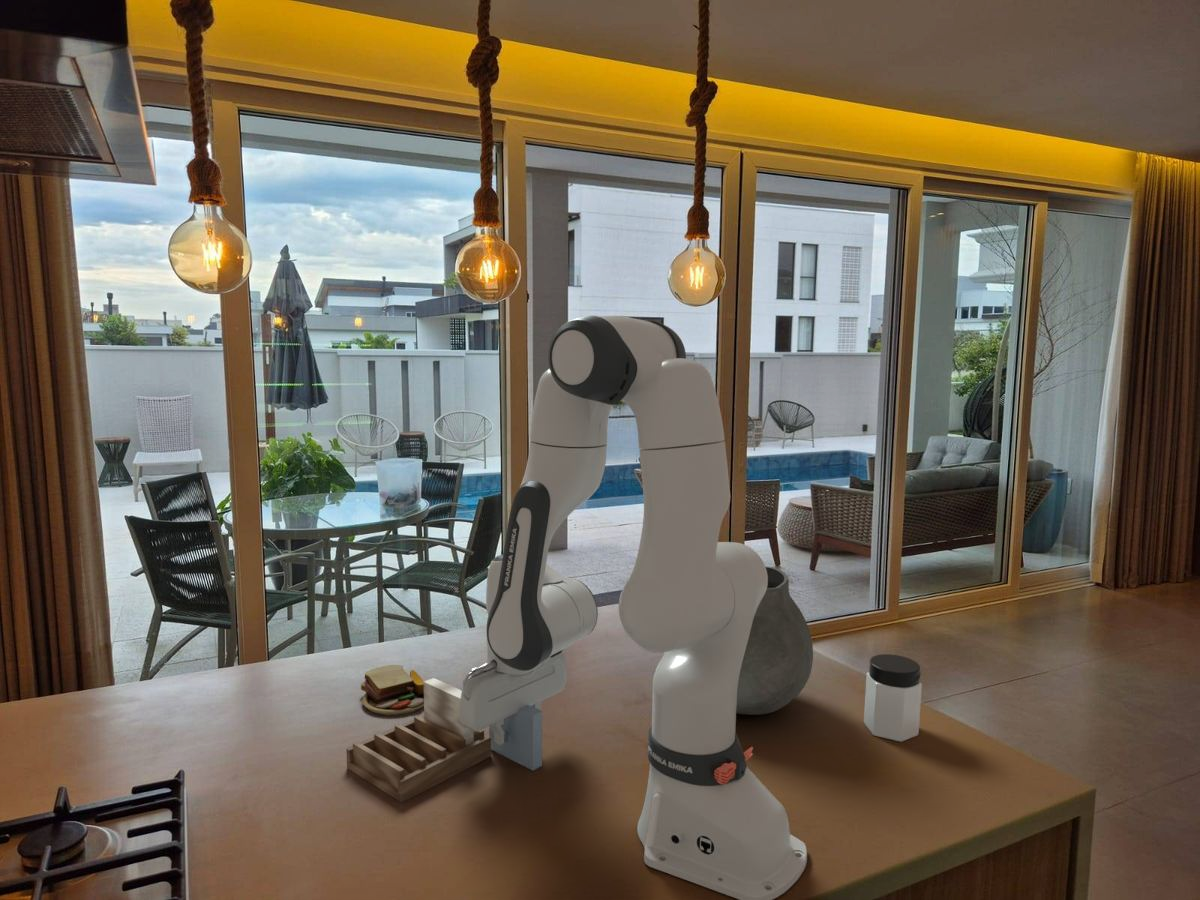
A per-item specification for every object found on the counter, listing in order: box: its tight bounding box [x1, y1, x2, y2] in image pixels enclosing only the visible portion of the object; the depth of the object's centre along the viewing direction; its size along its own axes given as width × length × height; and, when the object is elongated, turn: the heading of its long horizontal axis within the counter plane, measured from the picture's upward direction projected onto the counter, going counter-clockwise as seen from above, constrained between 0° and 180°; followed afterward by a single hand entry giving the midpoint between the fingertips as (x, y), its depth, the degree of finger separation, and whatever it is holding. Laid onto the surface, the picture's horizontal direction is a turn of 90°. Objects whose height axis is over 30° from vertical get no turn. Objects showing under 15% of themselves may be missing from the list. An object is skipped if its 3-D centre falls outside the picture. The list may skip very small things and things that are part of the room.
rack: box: [346, 677, 492, 803], centre depth 122 cm, size 14×17×10 cm
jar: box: [863, 653, 923, 743], centre depth 135 cm, size 9×8×12 cm
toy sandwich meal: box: [360, 664, 425, 716], centre depth 144 cm, size 12×14×5 cm
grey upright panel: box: [488, 705, 543, 771], centre depth 124 cm, size 10×2×9 cm, turn 50°
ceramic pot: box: [736, 566, 814, 716], centre depth 142 cm, size 24×24×25 cm
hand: (515, 735), depth 125 cm, fingers open, 5 cm apart
